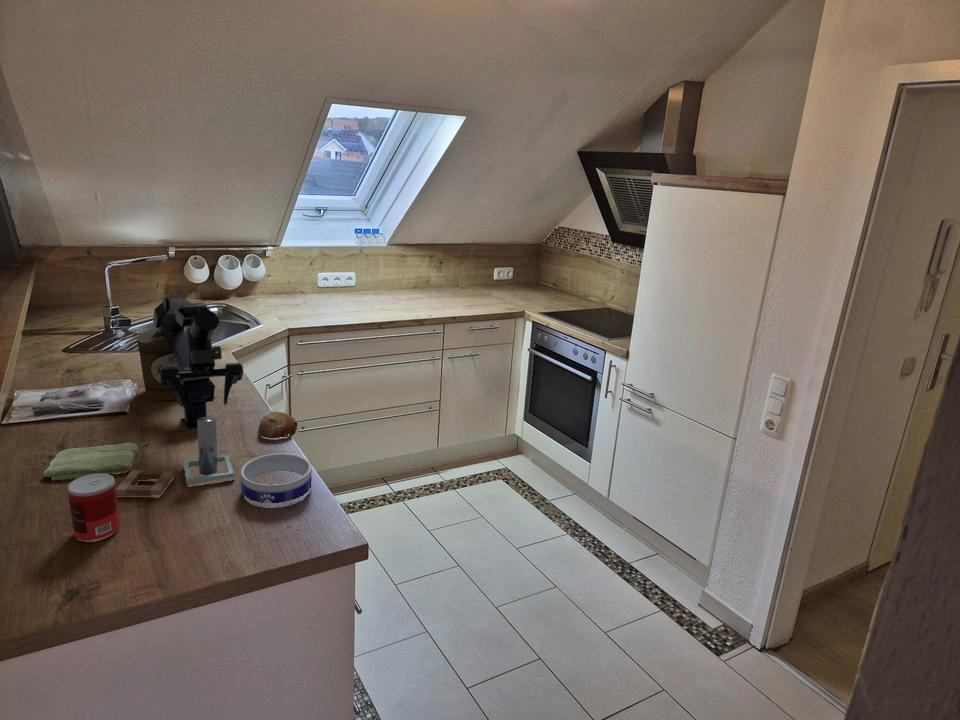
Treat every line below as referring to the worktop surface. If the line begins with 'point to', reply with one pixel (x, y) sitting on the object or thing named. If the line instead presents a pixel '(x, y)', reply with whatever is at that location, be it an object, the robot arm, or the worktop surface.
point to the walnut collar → (144, 490)
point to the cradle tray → (207, 477)
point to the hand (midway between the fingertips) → (205, 406)
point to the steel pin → (207, 445)
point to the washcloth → (92, 461)
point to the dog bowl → (276, 491)
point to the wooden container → (155, 363)
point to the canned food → (93, 506)
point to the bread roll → (277, 425)
